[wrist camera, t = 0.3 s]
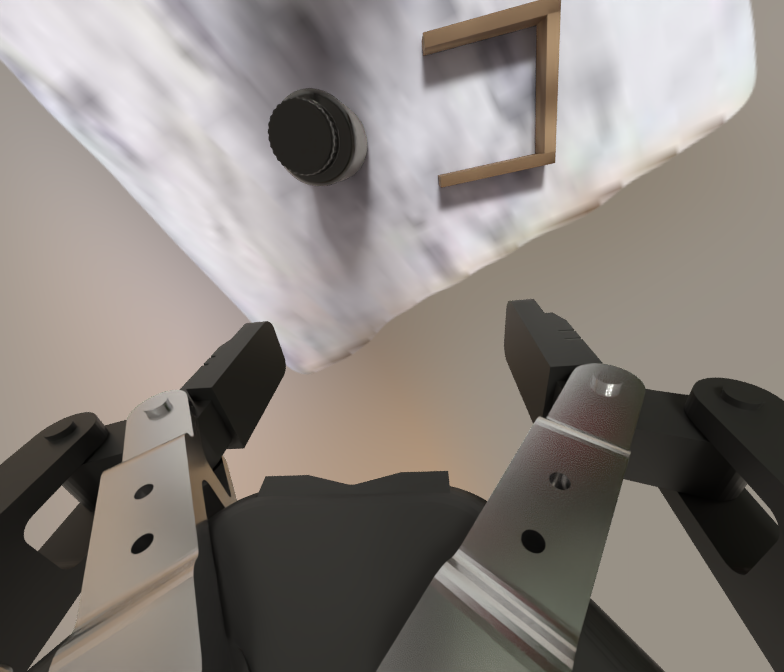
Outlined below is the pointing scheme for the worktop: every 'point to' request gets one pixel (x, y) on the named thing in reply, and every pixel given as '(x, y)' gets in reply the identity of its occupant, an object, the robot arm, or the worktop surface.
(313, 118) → the supplement bottle
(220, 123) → the worktop surface
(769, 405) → the robot arm
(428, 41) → the walnut frame
